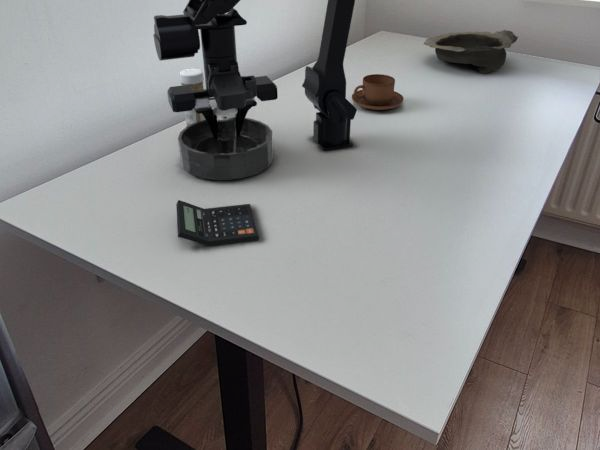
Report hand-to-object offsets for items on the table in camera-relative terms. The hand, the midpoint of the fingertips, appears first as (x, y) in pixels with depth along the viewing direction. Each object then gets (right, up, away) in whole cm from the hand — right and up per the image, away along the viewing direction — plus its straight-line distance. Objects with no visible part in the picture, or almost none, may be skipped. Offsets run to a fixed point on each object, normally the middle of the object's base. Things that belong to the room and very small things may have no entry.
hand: (226, 138), depth 102 cm
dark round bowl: (0, -4, +3) cm, 5 cm away
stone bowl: (+61, +29, +54) cm, 86 cm away
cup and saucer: (+32, +12, +27) cm, 44 cm away
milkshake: (0, -2, +2) cm, 3 cm away
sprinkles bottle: (-8, +2, +13) cm, 15 cm away
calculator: (+1, -17, -17) cm, 24 cm away
